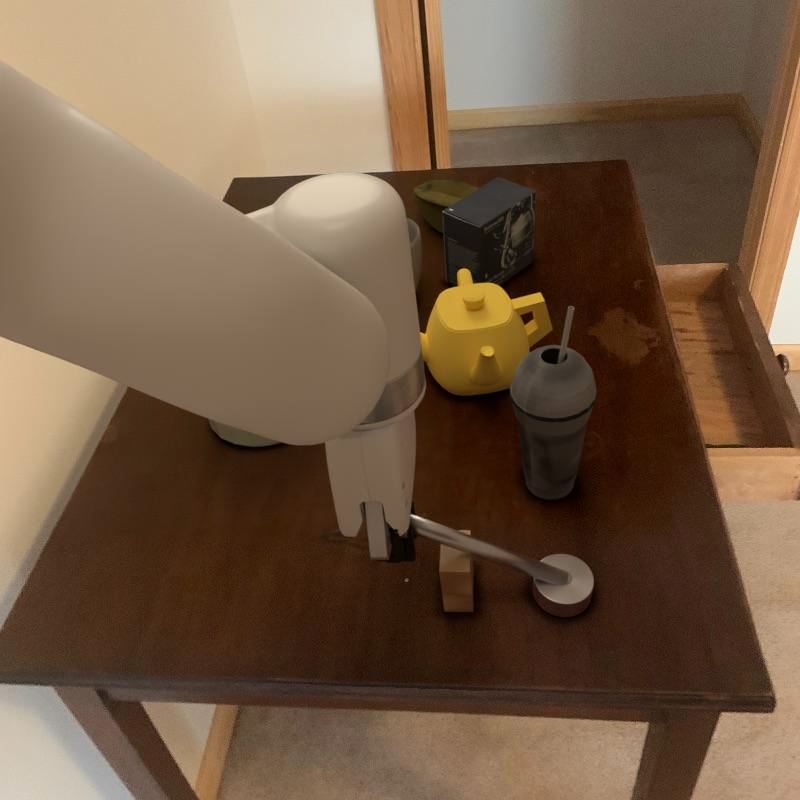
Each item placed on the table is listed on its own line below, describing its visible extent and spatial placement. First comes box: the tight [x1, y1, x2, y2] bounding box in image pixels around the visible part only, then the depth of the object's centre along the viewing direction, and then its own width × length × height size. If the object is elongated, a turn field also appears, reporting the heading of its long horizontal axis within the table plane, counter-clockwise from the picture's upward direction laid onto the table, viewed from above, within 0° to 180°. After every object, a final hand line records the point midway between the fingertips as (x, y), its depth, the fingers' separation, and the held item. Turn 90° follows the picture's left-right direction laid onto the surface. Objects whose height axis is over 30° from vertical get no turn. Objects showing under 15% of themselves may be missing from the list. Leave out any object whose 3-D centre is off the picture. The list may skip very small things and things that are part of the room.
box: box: [442, 176, 537, 287], centre depth 94 cm, size 11×7×10 cm, turn 135°
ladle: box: [409, 513, 595, 618], centre depth 59 cm, size 19×5×12 cm, turn 86°
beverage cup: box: [509, 305, 598, 501], centre depth 65 cm, size 7×7×20 cm
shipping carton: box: [438, 529, 475, 613], centre depth 62 cm, size 2×4×6 cm, turn 176°
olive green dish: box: [413, 179, 480, 234], centre depth 105 cm, size 11×12×7 cm
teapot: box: [420, 269, 554, 396], centre depth 81 cm, size 14×13×10 cm
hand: (397, 546), depth 60 cm, fingers closed on ladle, 1 cm apart
